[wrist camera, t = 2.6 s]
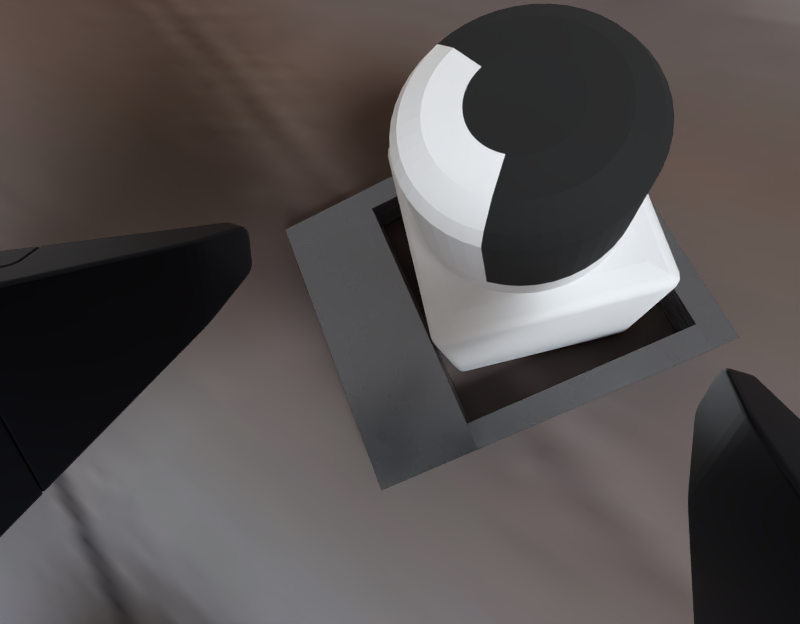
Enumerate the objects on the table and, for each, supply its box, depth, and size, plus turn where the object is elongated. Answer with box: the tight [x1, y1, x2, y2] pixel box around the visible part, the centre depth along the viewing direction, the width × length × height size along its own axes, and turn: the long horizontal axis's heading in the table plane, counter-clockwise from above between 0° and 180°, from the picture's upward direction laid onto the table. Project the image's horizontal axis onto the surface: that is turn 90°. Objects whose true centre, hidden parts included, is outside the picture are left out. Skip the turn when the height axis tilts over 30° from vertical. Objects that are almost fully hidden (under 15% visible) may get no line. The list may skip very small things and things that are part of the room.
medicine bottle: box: [388, 4, 680, 371], centre depth 16 cm, size 7×7×12 cm
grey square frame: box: [286, 176, 740, 490], centre depth 21 cm, size 14×12×2 cm
